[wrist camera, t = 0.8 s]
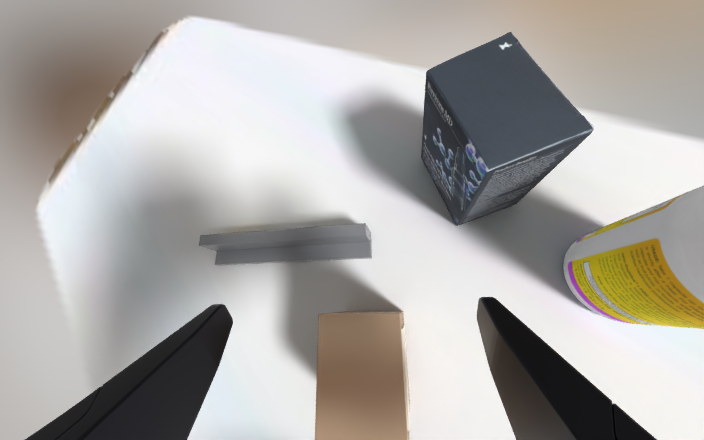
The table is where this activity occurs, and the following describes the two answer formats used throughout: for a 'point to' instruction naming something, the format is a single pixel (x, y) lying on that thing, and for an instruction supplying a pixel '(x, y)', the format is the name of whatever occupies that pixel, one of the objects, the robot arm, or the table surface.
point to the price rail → (291, 244)
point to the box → (494, 128)
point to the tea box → (362, 377)
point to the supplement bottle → (644, 265)
